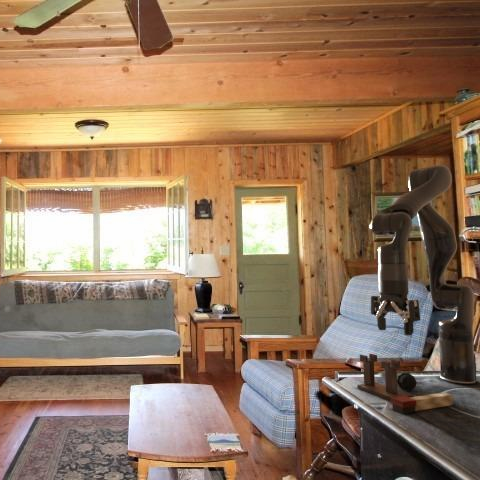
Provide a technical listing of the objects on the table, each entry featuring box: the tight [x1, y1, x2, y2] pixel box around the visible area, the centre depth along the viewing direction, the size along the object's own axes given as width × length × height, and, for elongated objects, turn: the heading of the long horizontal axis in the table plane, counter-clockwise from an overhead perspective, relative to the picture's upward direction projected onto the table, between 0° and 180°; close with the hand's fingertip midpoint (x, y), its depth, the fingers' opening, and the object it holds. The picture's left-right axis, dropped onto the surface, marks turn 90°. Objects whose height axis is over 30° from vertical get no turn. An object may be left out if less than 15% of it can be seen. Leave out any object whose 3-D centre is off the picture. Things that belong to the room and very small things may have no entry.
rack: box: [356, 353, 415, 402], centre depth 130 cm, size 13×8×11 cm, turn 16°
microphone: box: [380, 371, 418, 392], centre depth 139 cm, size 6×6×20 cm
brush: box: [390, 391, 454, 415], centre depth 117 cm, size 20×4×3 cm, turn 106°
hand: (394, 332), depth 123 cm, fingers open, 8 cm apart
